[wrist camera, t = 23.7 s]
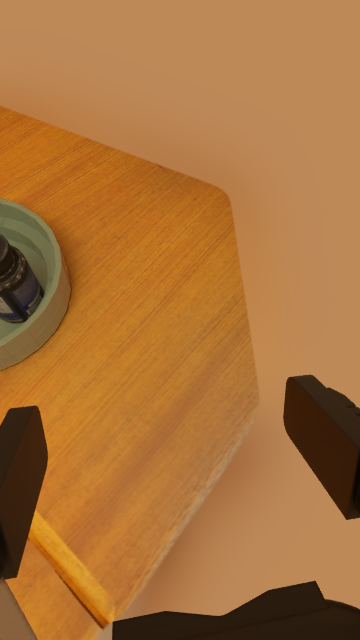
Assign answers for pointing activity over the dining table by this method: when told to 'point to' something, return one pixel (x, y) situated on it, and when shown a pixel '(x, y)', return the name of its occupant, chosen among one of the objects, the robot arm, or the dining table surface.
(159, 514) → the dining table surface
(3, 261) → the pill bottle
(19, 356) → the bowl
